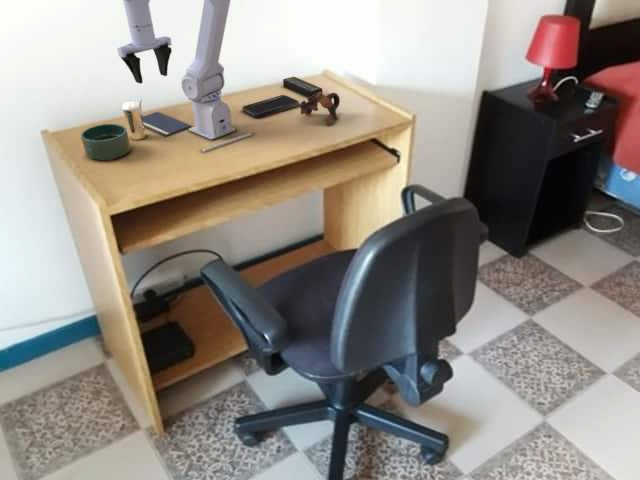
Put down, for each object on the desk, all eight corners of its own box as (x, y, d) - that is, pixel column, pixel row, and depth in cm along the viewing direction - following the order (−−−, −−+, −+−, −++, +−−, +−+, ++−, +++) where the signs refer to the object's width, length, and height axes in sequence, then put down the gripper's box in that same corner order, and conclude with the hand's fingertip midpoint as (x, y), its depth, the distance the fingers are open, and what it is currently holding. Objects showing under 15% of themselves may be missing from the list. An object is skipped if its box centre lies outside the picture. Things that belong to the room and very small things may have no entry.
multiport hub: (294, 83, 182) (294, 76, 180) (323, 96, 173) (322, 88, 172) (282, 86, 179) (282, 79, 178) (311, 99, 171) (311, 91, 169)
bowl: (140, 151, 141) (135, 131, 138) (101, 165, 135) (95, 145, 132) (116, 140, 147) (111, 120, 143) (78, 153, 140) (72, 133, 137)
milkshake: (145, 141, 146) (136, 103, 140) (125, 139, 147) (116, 101, 141) (154, 134, 149) (145, 96, 143) (135, 132, 150) (126, 95, 144)
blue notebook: (191, 127, 154) (190, 125, 153) (165, 136, 149) (165, 134, 148) (157, 113, 161) (157, 111, 161) (132, 121, 156) (131, 119, 156)
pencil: (253, 133, 150) (204, 151, 141) (253, 135, 151) (203, 153, 142) (251, 131, 150) (202, 148, 141) (251, 133, 151) (201, 150, 142)
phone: (240, 106, 162) (283, 94, 170) (241, 110, 163) (283, 98, 171) (257, 114, 157) (300, 101, 166) (257, 118, 158) (300, 105, 166)
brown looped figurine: (324, 131, 153) (307, 103, 150) (305, 136, 161) (289, 109, 157) (353, 108, 158) (338, 80, 155) (334, 113, 166) (319, 87, 163)
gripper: (155, 16, 151) (165, 69, 159) (105, 27, 142) (118, 82, 150) (172, 21, 148) (181, 74, 156) (121, 32, 139) (134, 88, 147)
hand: (151, 78), depth 153 cm, fingers open, 7 cm apart
